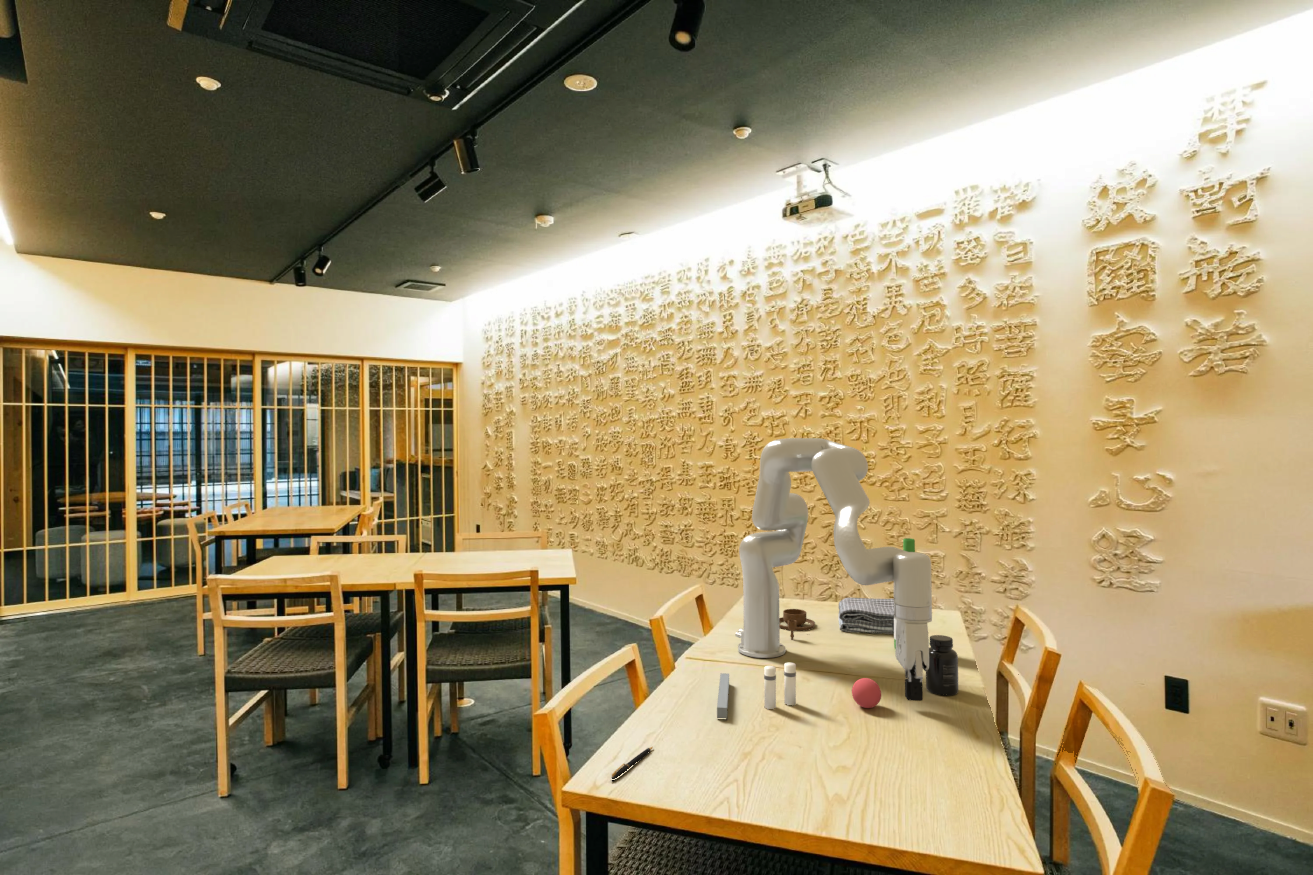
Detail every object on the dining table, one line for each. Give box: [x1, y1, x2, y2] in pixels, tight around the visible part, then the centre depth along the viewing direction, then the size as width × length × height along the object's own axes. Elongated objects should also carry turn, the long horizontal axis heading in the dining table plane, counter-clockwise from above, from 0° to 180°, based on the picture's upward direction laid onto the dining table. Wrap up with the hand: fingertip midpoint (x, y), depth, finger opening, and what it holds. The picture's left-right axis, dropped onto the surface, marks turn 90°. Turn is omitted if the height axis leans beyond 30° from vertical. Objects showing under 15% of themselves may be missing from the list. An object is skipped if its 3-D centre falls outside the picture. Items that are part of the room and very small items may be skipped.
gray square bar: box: [716, 672, 730, 719], centre depth 149 cm, size 20×2×2 cm, turn 173°
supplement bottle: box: [925, 634, 959, 697], centre depth 154 cm, size 7×7×12 cm
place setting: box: [779, 608, 816, 641], centre depth 205 cm, size 18×20×6 cm
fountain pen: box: [611, 746, 654, 779], centre depth 121 cm, size 14×1×2 cm, turn 151°
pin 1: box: [763, 665, 777, 710], centre depth 146 cm, size 2×2×8 cm
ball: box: [851, 677, 882, 709], centre depth 146 cm, size 6×6×6 cm
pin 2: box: [783, 662, 797, 706], centre depth 148 cm, size 2×2×8 cm
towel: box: [838, 597, 894, 635], centre depth 205 cm, size 15×18×8 cm
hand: (913, 698), depth 144 cm, fingers closed
